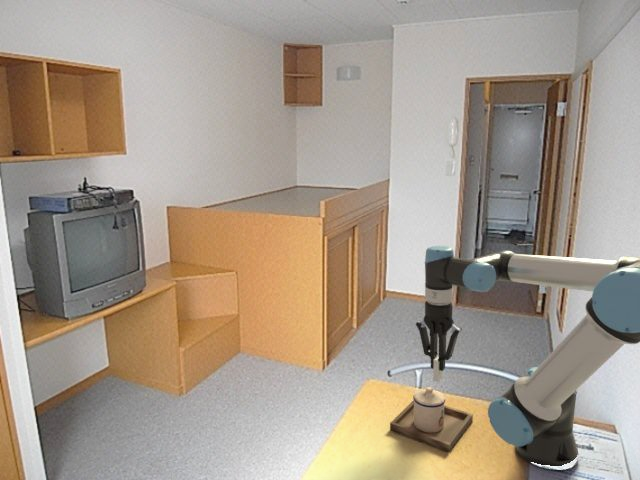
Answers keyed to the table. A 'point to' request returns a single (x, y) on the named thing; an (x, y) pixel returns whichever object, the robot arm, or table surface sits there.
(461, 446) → the table surface
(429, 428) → the teacup with lid
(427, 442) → the walnut tray
